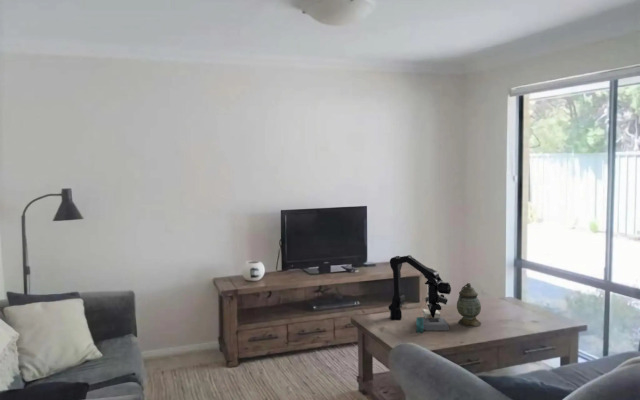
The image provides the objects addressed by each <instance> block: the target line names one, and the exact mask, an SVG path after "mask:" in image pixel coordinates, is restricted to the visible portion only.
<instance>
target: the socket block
mask: <svg viewBox="0 0 640 400" xmlns="http://www.w3.org/2000/svg"><path fill="white" fill-rule="evenodd" d="M420 317H421V318H423V331H449V323H448V322H447V320H446V318H445V317H444V316H440V318H427V319H425V317H424V316H420Z"/></svg>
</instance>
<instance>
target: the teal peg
mask: <svg viewBox="0 0 640 400" xmlns="http://www.w3.org/2000/svg"><path fill="white" fill-rule="evenodd" d="M421 317H422V316H419V317H415V318H416V322H415V323H416V325H415V326H416V327H415V328H416V333H419V334H423V333H424V329H423V318H421Z"/></svg>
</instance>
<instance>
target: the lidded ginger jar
mask: <svg viewBox="0 0 640 400" xmlns="http://www.w3.org/2000/svg"><path fill="white" fill-rule="evenodd" d="M458 294H459V295H458V299H457V301H456V310H457V312H458V314H459V315H460V316H462V318H460V319H459V320H458V322H457V323H458V325H460V326H462V327H465V328H477V327H481V326H482V323H481V321H479V319H477V317H478V316H479V314H480V313H481V310H482V305H481V301H480V299H479V298H478V295H479V293H478V292H477V291H476V290H475V289H474V287H473V286H471V283H469V282H467V283H466V284H465V285H463V286H462V287H461V289H460V291H459V292H458Z"/></svg>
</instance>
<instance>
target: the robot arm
mask: <svg viewBox="0 0 640 400" xmlns="http://www.w3.org/2000/svg"><path fill="white" fill-rule="evenodd" d="M406 263H407V264H409V265H410V266H411V267H412V268H414V269H416V270H417V272H420V273H421V274H422V275H423V277H424V278H425V279H426V281H425V282H424V285H427V296H426V297H425V298H424V301H425V303H427V309H429V311H430V313H431V316H432V318H434V316H435V312H436V310H438V311H441V310H442V306H441V304H443V305H447V303H448V300H449V299H448V298H447V297H445V295H450V294H451V291H452V287H451V284H450V282H443V279H442V278H441V276H440V273H439V272H438V270H435V269H433V268H429V267H428V266H425V265H424V264H423V263H421V262H420V261H418V260H417V259H416V258H414V257H413V256H412V255H410V254H408V255H403V256H400V255H396V256H393V257H391V258H390V259H389V264H390V268H391V270H392V280H393V281H392V282H393V295H392V298H391V303H390V305H388V306H387V307H388V310H389V311H390V312H389V318H390V320H391V321H392V320H393V321H396V320H398V321H399V320H400V321H401V320H402V315H403V314H402V310H401V308H403V306H404V305H405V302H406V295H404V294H403V293H402V275H401V270H402V268H403V267H402V266H403V264H406ZM439 294H440V295H439ZM440 303H441V304H440Z"/></svg>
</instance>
